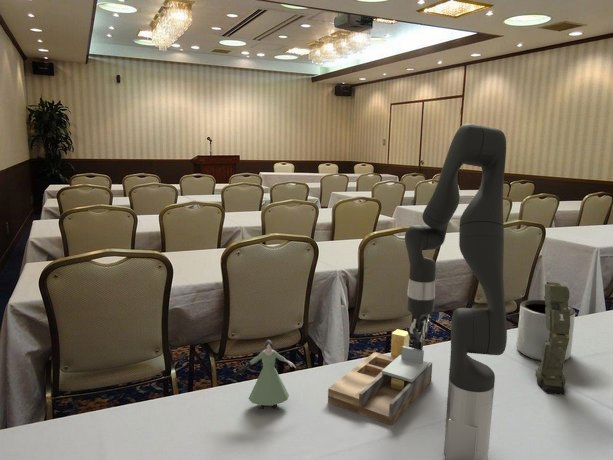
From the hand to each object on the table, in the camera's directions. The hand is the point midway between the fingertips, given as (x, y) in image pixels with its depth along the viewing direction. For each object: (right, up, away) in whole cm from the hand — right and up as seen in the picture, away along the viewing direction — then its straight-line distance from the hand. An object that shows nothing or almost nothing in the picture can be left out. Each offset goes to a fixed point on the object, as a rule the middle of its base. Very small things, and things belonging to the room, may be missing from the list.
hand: (417, 352), depth 143 cm
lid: (-5, -3, -7) cm, 9 cm away
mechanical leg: (+37, -9, -2) cm, 38 cm away
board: (-11, -9, -7) cm, 16 cm away
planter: (+44, -5, +18) cm, 48 cm away
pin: (-4, -6, +10) cm, 12 cm away
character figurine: (-42, -10, -16) cm, 46 cm away
